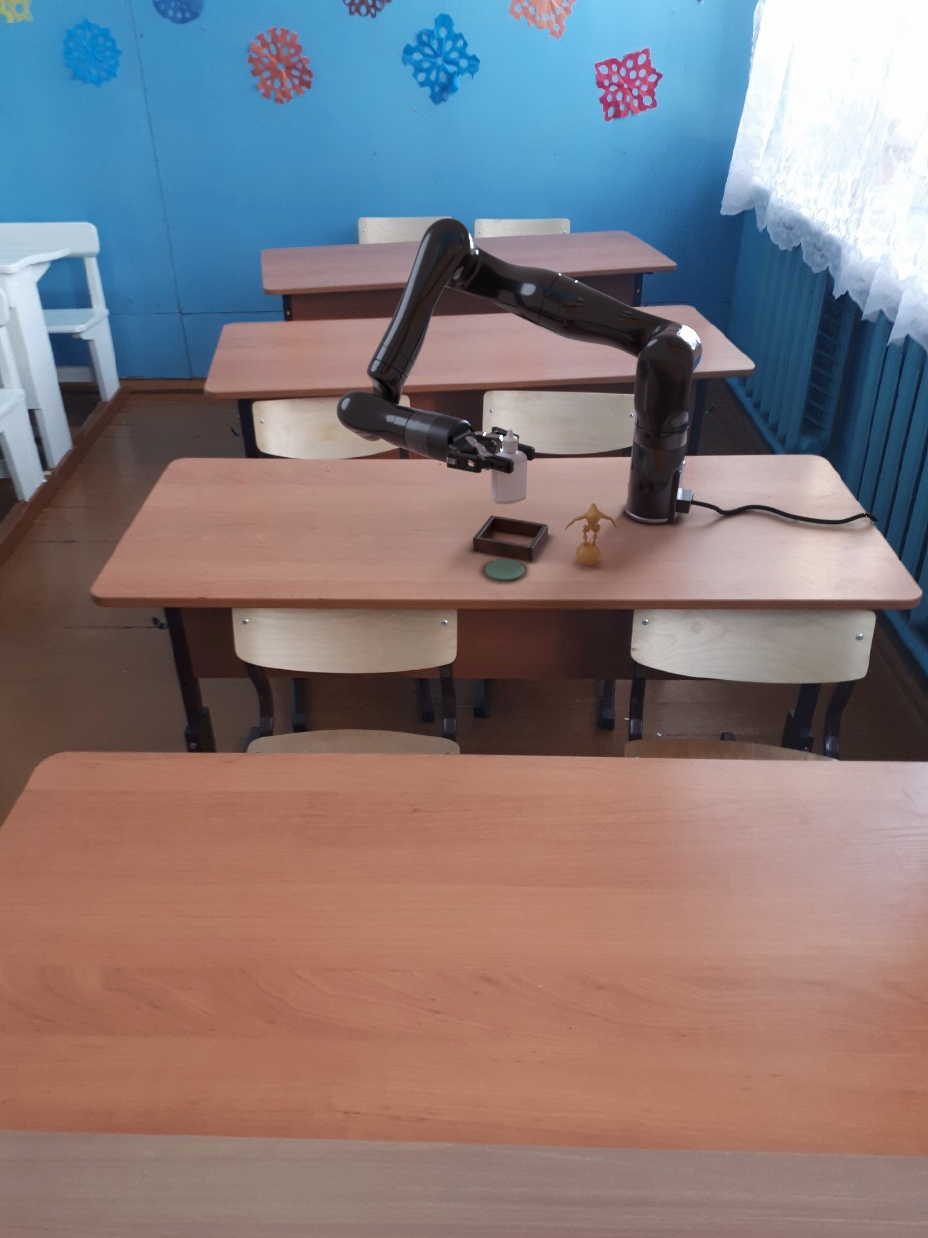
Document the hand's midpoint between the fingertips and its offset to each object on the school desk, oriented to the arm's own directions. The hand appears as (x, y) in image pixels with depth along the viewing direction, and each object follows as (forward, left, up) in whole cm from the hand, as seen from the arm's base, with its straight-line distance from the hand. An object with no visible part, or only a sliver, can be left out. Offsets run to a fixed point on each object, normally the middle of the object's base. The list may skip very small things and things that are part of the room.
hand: (522, 460), depth 137 cm
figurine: (-11, -1, -18) cm, 21 cm away
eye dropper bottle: (+3, -1, -8) cm, 8 cm away
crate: (+3, -4, -18) cm, 18 cm away
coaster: (+1, +5, -18) cm, 18 cm away
